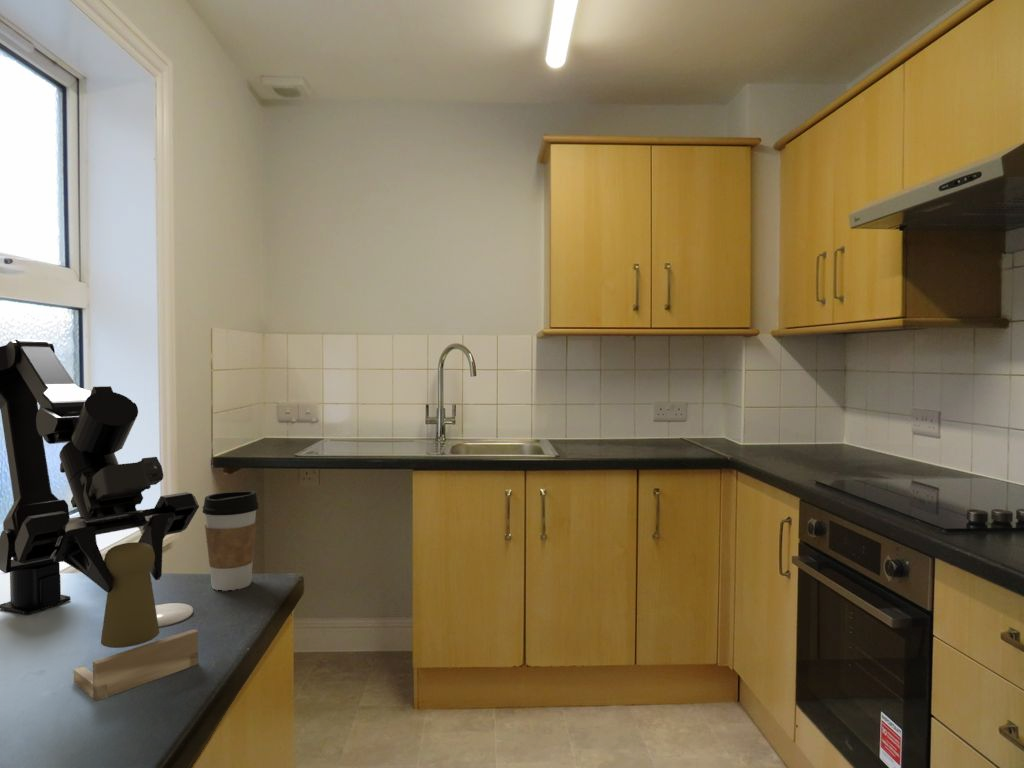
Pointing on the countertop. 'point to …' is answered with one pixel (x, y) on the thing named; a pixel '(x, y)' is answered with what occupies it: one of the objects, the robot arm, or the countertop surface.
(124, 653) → the holder
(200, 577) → the countertop surface
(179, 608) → the saucer
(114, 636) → the cork
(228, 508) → the coffee cup
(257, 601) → the countertop surface
